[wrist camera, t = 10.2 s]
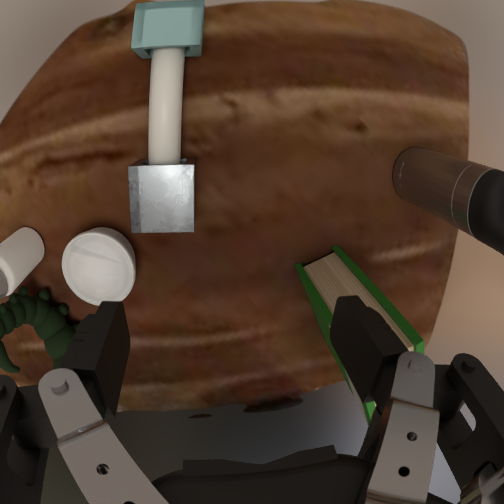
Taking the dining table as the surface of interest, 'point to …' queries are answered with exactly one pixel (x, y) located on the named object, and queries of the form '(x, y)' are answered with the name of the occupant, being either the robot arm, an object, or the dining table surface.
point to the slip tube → (166, 105)
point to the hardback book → (347, 284)
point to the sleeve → (162, 196)
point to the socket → (168, 27)
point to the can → (19, 258)
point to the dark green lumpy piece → (36, 325)
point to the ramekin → (99, 265)
